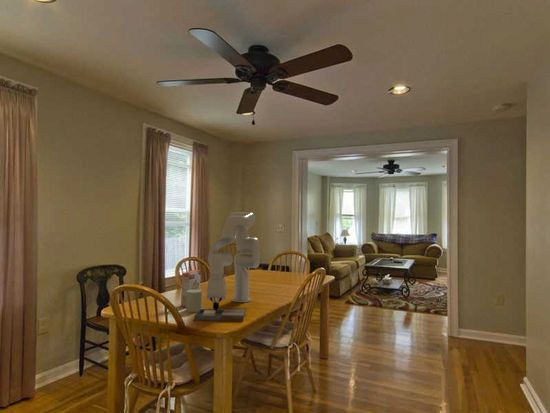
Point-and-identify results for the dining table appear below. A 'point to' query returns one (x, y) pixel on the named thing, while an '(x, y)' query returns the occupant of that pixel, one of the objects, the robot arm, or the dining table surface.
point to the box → (200, 316)
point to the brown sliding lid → (233, 314)
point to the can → (194, 300)
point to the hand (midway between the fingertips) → (215, 309)
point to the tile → (209, 313)
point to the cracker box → (189, 284)
